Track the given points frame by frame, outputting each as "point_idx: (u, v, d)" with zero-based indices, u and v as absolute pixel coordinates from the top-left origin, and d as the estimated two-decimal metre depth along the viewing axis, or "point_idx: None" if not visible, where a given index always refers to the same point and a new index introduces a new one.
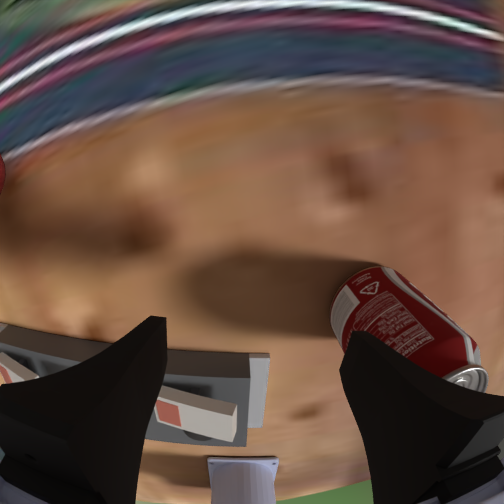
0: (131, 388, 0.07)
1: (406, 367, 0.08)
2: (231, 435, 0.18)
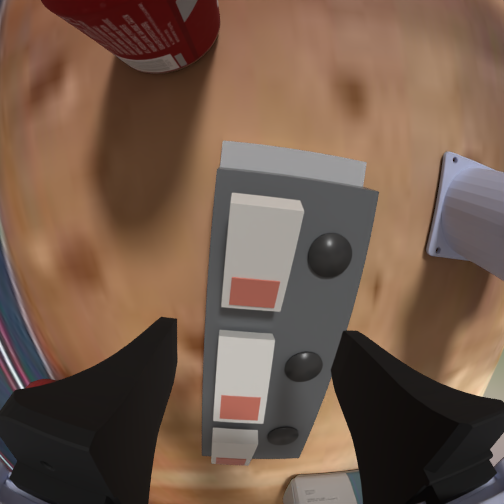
0: (145, 391, 0.07)
1: (396, 368, 0.08)
2: (284, 210, 0.13)
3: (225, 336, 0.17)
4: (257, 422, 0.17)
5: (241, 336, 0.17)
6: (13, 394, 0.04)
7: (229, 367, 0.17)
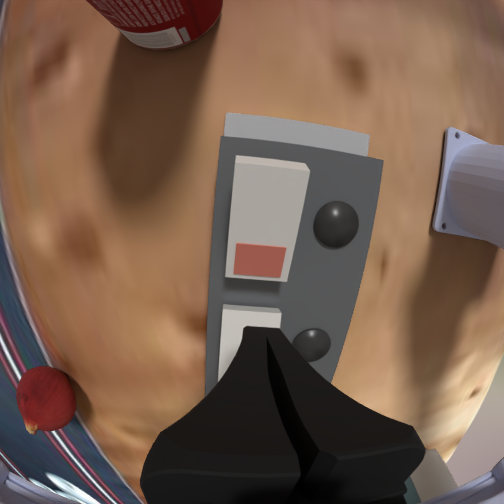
0: None
1: (298, 371, 0.08)
2: (289, 169, 0.12)
3: (229, 309, 0.16)
4: None
5: (245, 309, 0.16)
6: (166, 438, 0.04)
7: (233, 343, 0.16)
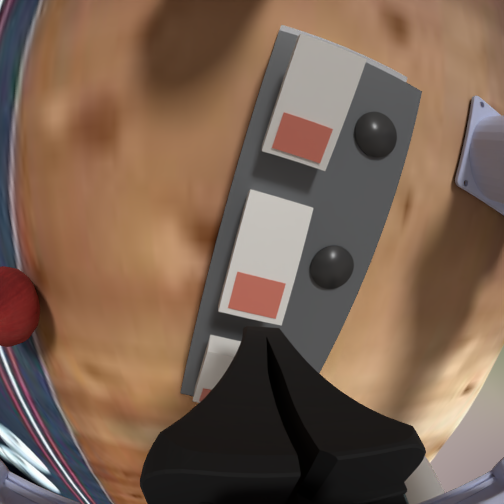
0: None
1: (298, 371, 0.08)
2: (349, 52, 0.11)
3: (258, 191, 0.14)
4: (274, 322, 0.15)
5: (274, 197, 0.15)
6: (166, 438, 0.04)
7: (254, 232, 0.14)
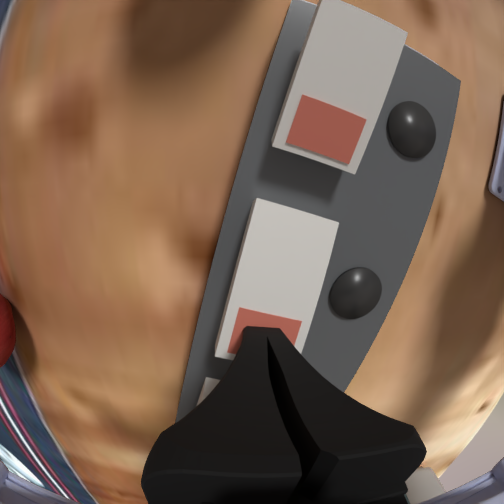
0: None
1: (298, 371, 0.08)
2: (386, 22, 0.07)
3: None
4: None
5: (288, 208, 0.11)
6: (167, 438, 0.04)
7: (262, 255, 0.11)
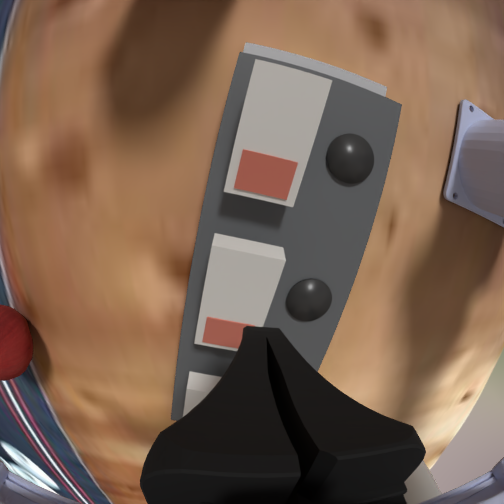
0: None
1: (298, 371, 0.08)
2: (311, 75, 0.10)
3: (220, 247, 0.13)
4: None
5: (241, 248, 0.13)
6: (166, 438, 0.04)
7: (220, 285, 0.14)
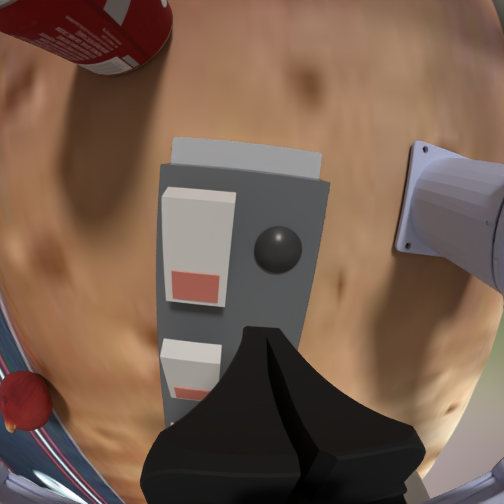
0: None
1: (298, 371, 0.08)
2: (214, 202, 0.13)
3: (166, 358, 0.15)
4: None
5: (184, 355, 0.15)
6: (166, 438, 0.04)
7: (176, 374, 0.16)
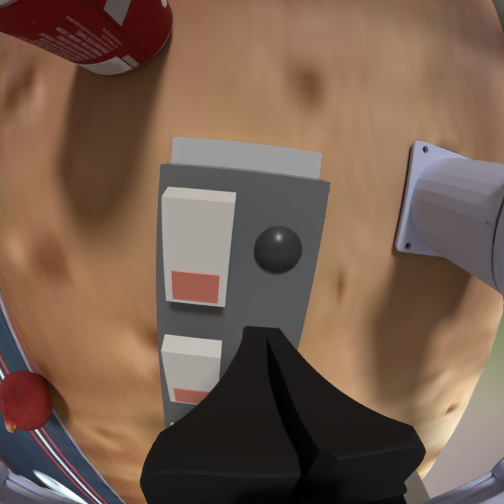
0: None
1: (298, 371, 0.08)
2: (214, 202, 0.13)
3: (167, 351, 0.15)
4: None
5: (184, 349, 0.15)
6: (166, 438, 0.04)
7: (176, 371, 0.16)
